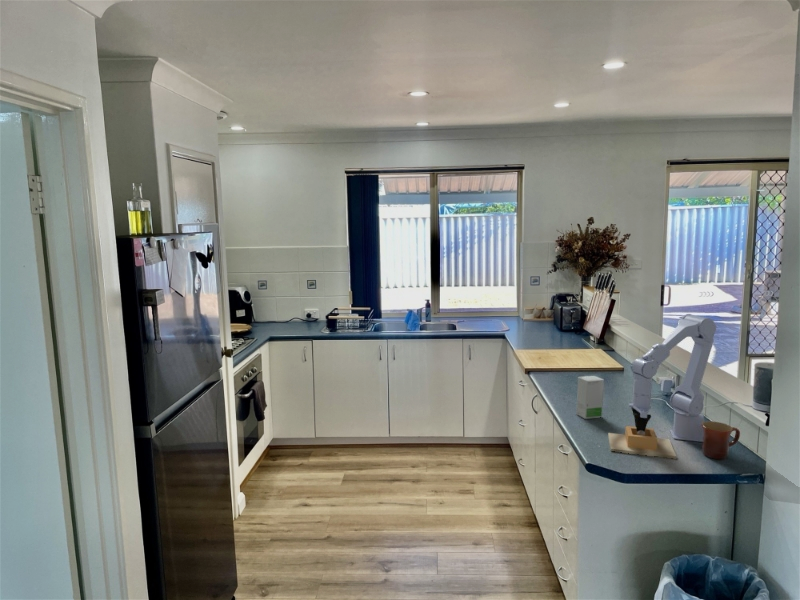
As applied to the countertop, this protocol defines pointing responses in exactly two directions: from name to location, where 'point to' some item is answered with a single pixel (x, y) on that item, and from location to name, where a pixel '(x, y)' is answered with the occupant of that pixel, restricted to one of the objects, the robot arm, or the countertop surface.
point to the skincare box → (590, 397)
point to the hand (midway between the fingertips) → (639, 430)
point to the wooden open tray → (641, 438)
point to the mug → (718, 439)
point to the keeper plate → (620, 445)
